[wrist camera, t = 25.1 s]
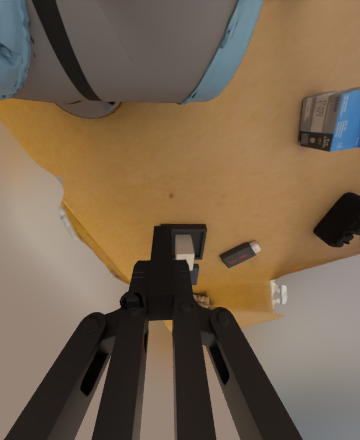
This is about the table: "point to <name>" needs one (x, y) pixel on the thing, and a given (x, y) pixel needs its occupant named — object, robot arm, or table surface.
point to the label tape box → (331, 120)
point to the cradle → (196, 234)
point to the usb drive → (240, 253)
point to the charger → (184, 249)
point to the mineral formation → (203, 301)
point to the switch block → (194, 274)
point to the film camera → (341, 221)
